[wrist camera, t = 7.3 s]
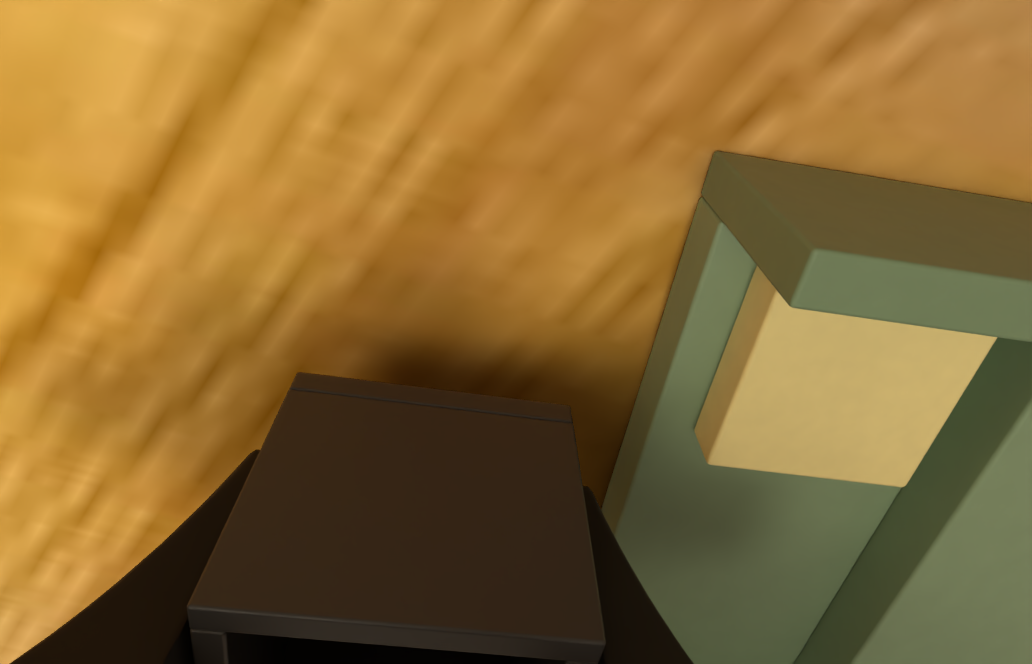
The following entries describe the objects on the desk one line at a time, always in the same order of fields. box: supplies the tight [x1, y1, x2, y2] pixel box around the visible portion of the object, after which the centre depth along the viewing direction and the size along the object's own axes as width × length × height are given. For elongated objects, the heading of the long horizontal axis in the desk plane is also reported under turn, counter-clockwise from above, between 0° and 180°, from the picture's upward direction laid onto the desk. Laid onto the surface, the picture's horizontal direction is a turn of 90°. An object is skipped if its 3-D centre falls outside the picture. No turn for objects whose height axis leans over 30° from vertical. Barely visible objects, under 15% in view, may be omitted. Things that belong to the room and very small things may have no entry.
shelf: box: [601, 151, 1032, 664], centre depth 13 cm, size 14×12×4 cm
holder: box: [187, 372, 606, 664], centre depth 10 cm, size 5×5×4 cm
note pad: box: [694, 266, 997, 487], centre depth 11 cm, size 4×4×1 cm
